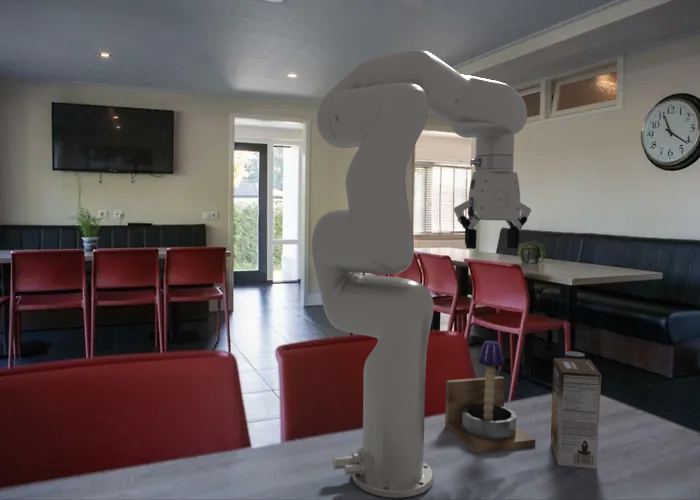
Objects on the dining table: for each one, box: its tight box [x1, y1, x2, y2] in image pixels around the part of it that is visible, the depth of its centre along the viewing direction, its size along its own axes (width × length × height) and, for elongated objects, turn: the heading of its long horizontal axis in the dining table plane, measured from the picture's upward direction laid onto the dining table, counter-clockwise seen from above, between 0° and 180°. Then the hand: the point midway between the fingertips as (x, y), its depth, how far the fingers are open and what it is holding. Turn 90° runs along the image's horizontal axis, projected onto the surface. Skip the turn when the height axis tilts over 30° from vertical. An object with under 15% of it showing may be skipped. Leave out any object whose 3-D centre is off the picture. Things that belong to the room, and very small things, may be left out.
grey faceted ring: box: [462, 403, 517, 441], centre depth 102 cm, size 10×10×3 cm
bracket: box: [444, 376, 536, 454], centre depth 102 cm, size 12×12×9 cm
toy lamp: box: [478, 340, 505, 421], centre depth 102 cm, size 5×5×17 cm
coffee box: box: [550, 357, 602, 470], centre depth 94 cm, size 9×6×16 cm
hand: (491, 248), depth 114 cm, fingers open, 9 cm apart
